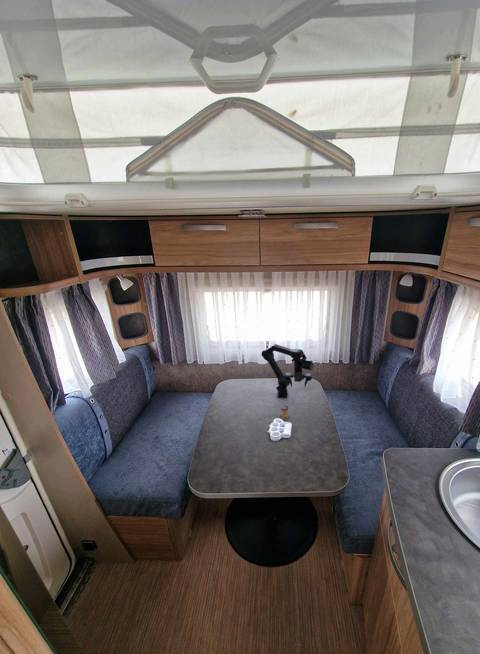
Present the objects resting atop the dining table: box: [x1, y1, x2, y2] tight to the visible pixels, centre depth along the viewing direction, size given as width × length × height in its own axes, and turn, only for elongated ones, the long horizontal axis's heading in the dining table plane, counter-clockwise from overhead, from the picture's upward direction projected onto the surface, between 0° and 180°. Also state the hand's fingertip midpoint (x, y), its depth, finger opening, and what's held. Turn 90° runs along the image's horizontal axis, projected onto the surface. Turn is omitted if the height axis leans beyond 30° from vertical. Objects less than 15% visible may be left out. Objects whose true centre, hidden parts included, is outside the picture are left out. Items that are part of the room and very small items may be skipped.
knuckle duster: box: [266, 417, 293, 442], centre depth 175 cm, size 3×18×15 cm
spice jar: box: [280, 404, 289, 420], centre depth 187 cm, size 5×5×8 cm
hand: (298, 386), depth 203 cm, fingers open, 9 cm apart
